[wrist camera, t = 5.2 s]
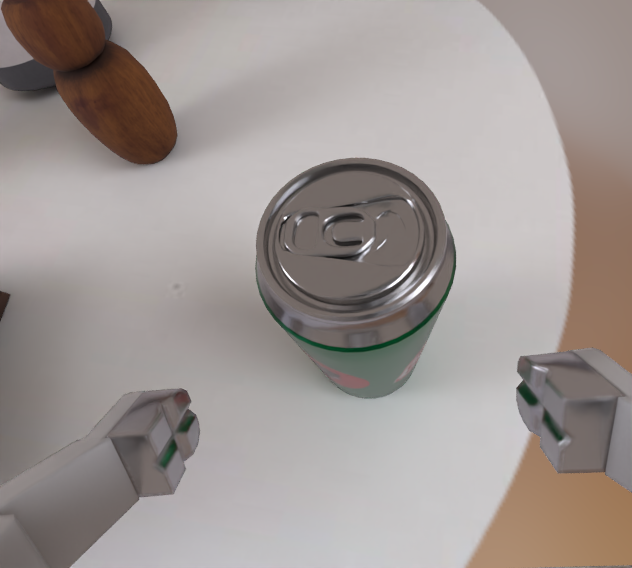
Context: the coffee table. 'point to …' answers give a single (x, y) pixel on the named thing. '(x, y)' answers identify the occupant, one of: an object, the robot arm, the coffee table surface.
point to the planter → (19, 66)
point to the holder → (3, 302)
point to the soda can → (356, 270)
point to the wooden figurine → (95, 77)
